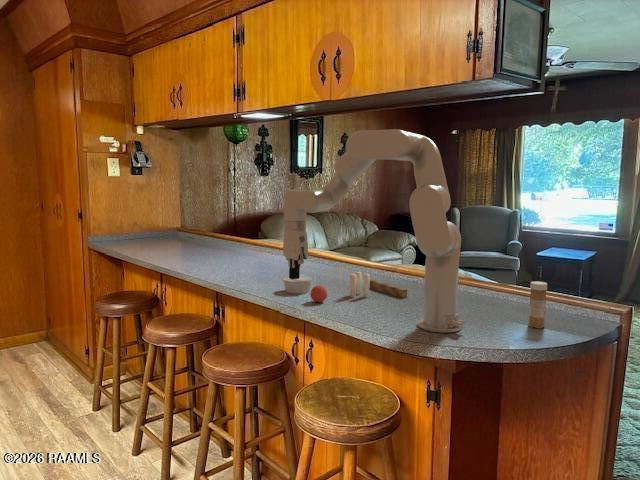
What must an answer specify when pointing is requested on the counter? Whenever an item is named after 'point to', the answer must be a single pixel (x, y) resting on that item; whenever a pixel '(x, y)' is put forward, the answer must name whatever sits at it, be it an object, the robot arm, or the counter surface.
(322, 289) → the ball
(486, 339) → the counter surface
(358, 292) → the far pin
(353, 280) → the front pin
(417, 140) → the robot arm
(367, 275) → the near pin
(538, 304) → the sprinkles bottle
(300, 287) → the ramekin
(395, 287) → the walnut rail
